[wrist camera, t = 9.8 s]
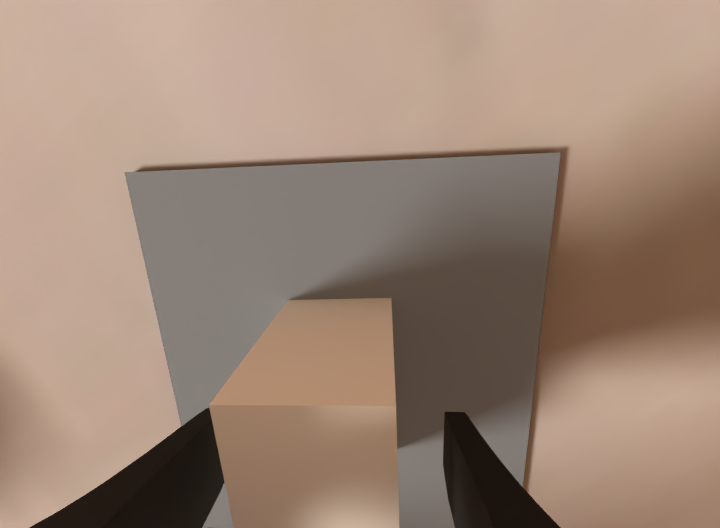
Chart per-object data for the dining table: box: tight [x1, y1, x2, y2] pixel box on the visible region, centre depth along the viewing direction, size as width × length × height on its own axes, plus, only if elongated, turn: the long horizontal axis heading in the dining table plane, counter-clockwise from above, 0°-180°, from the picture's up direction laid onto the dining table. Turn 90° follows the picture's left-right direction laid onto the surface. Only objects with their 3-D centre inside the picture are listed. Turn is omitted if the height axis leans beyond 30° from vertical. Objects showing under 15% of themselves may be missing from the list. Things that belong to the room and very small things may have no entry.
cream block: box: [209, 298, 399, 528], centre depth 11 cm, size 4×7×6 cm, turn 3°
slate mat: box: [125, 152, 561, 528], centre depth 14 cm, size 17×15×1 cm
